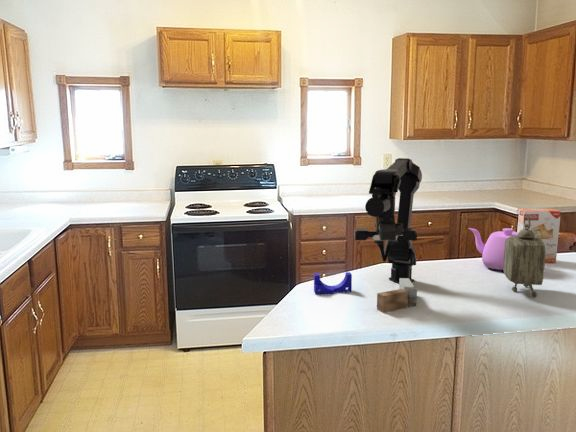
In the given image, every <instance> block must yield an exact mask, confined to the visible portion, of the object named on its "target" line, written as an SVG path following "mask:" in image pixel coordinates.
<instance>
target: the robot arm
mask: <svg viewBox="0 0 576 432" xmlns="http://www.w3.org/2000/svg"><path fill="white" fill-rule="evenodd" d="M422 179H423V172H422V170H421V167H420V166H419V165H417V164H416V163H414V162H413V160H412V159H411V158H406V157H405V158H401V157H400V158H399V157H398V158H396V159H395V161H394V162H393V163H392V164H391V165H390V166H388V168H385V169H379V170H376V171H375V172H374V174H373V175H372V179H371V184H370V185H369V191H368V194H370V195H371V197H370V198H369V199H367V201H366V203H365V206H364V207H365V212H366V213H367V215H369V216H371V217H373V218H375V230H368V228H367V227H356V228H354V229H353V237H354V240H355V241H367V239H368V238H371V240H372V243H375V244H376V245H377V246H378V249H379V253H380V255H381V256H380V257H381V258H382V262H386V261H388V262H387V263H388V264H391V268H390V277H388V280H390V281H393V282H395V283H397V284H399V278H409V279H410V281H411V283H412V282H415V279H413V278H412V275H413V274H412V271H413V268H412V267H413V266H416V265H417V256H416V252H415V250H414V242H413V241H417V239H418V232H417V231H416V230H415V229H414V228H413V227H411V222H412V213H413V203H414V197H415V193H416V192H417V191H418V190H419V188H420V184H421V182H422ZM398 192H399V202H398V211H397V221H395V219H396V217H395V216H396V194H397V193H398ZM384 241H385V243H384Z"/></svg>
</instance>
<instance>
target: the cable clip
mask: <svg viewBox="0 0 576 432" xmlns="http://www.w3.org/2000/svg"><path fill="white" fill-rule="evenodd" d="M352 277H353V275H352V273H351V272H348V271H347V272H345V276H344V278H343V279H342V281H341V282H340V283H338V284H336V285H328V284H326V283H324V282H323V280H321V276H320V273H319V272H315V273H313V292H314V295H316V296H317V295H334V294H335V293H352V291H353V290H352V289H353V288H352V287H353V286H352V281H353V280H352V279H353V278H352Z"/></svg>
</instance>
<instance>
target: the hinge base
mask: <svg viewBox="0 0 576 432" xmlns="http://www.w3.org/2000/svg"><path fill="white" fill-rule="evenodd" d="M417 300H418V297H417V298H415V299H408V291H406V290H403V289H399V288H398V289H393V290H388V291H382V292H377V293H376V310H377V311H379V312H381V313H387V312H389V313H390V312H393V311H398V310H399V311H400V310H402V309H407V308H415V307H417V305H418V303H417Z"/></svg>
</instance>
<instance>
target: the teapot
mask: <svg viewBox="0 0 576 432" xmlns="http://www.w3.org/2000/svg"><path fill="white" fill-rule="evenodd" d="M468 230H470V231H471V232H472V233H473V235H474V238H475V245H476V246H475V247H476V249H477V251H478V252H479V253H480V254H481V255H482V256H481V260H482V262H483V264H484V267H486V268H489V269H490V268H491V269H490V270H498V271H499V270H500V271H504V250H505V241H506V239H507V238H509V237H511V236H517V235H518V233H517V231H514V229H513V228H508V227H506V228H502V230H501V231H493V232H492V233H490V234H489V236H488V239H487V240H486V243H484V242H483V240H482V237H481V233H480V232H479V230H478V229H475V228H472V227H468Z"/></svg>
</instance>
